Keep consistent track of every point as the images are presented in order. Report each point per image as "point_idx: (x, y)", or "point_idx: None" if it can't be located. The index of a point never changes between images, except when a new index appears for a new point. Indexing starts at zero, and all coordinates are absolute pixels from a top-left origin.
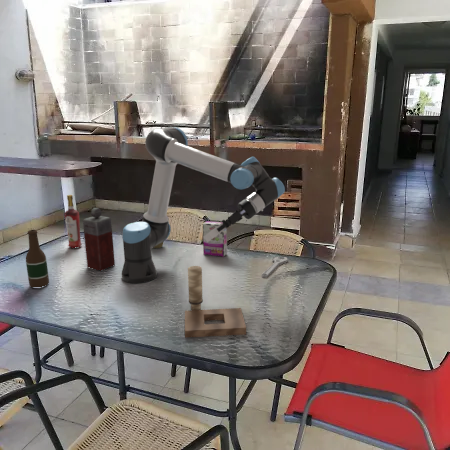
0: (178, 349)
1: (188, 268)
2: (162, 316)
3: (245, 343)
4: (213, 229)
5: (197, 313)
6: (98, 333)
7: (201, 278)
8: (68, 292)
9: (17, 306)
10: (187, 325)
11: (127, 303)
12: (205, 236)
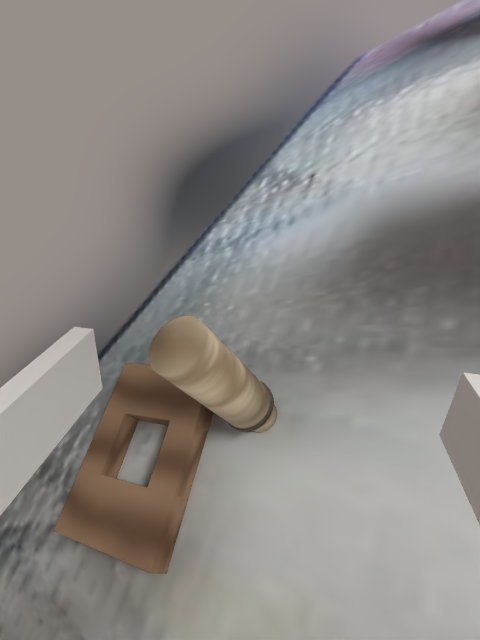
0: (109, 356)
1: (188, 318)
2: (248, 319)
3: (46, 512)
4: (34, 364)
5: (182, 402)
6: (226, 214)
7: (182, 390)
8: (462, 83)
9: (388, 52)
10: (141, 370)
11: (354, 225)
12: (466, 394)
